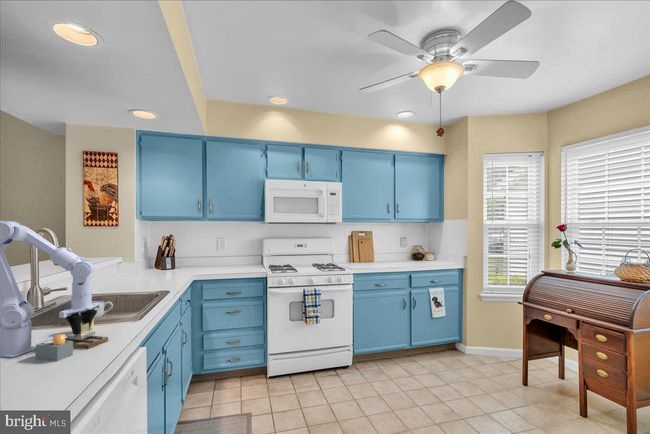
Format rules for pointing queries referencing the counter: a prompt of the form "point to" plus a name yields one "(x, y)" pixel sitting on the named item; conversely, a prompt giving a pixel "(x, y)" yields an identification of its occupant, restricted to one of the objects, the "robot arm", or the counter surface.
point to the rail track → (88, 342)
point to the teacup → (101, 309)
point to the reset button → (59, 339)
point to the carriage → (82, 332)
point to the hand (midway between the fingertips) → (81, 332)
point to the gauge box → (53, 350)
